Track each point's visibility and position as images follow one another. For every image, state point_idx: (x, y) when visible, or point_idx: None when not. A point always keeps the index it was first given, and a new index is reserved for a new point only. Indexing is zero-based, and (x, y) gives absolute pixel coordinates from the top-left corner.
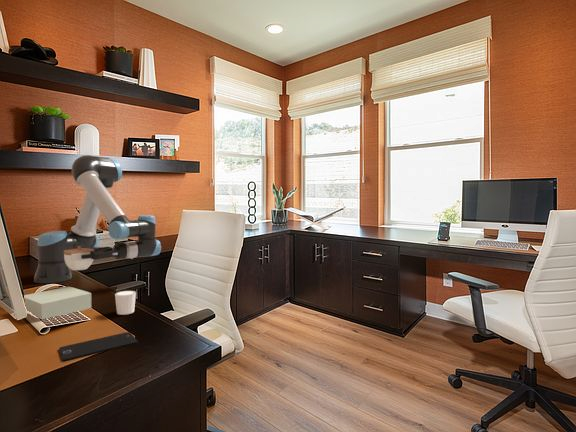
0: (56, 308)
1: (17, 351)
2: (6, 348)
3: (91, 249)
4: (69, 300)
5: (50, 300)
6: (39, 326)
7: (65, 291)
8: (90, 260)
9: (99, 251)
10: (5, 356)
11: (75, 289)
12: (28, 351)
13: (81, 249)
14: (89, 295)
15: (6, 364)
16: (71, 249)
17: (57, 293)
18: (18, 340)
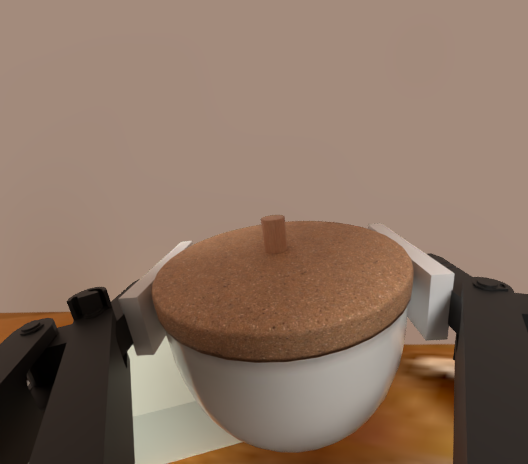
0: None
1: (27, 321)
2: (57, 313)
3: (239, 306)
4: None
5: None
6: None
7: (162, 368)
8: (186, 385)
9: (86, 390)
10: (32, 312)
11: (151, 403)
12: (4, 329)
13: (294, 256)
14: None
15: (7, 313)
16: (332, 229)
17: (162, 347)
18: (66, 322)
